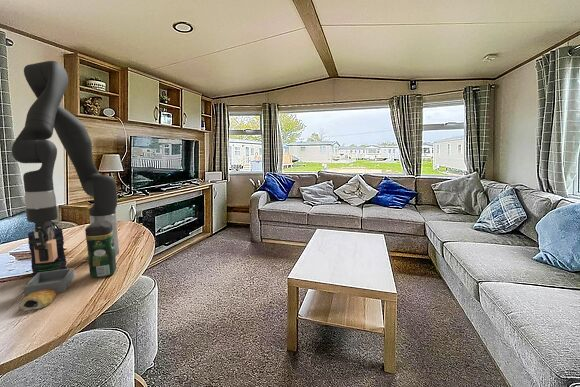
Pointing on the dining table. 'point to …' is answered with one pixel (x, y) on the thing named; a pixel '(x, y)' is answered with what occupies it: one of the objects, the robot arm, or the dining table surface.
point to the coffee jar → (100, 249)
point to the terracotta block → (51, 252)
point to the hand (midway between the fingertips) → (47, 258)
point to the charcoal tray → (50, 281)
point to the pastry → (37, 300)
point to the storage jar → (58, 262)
